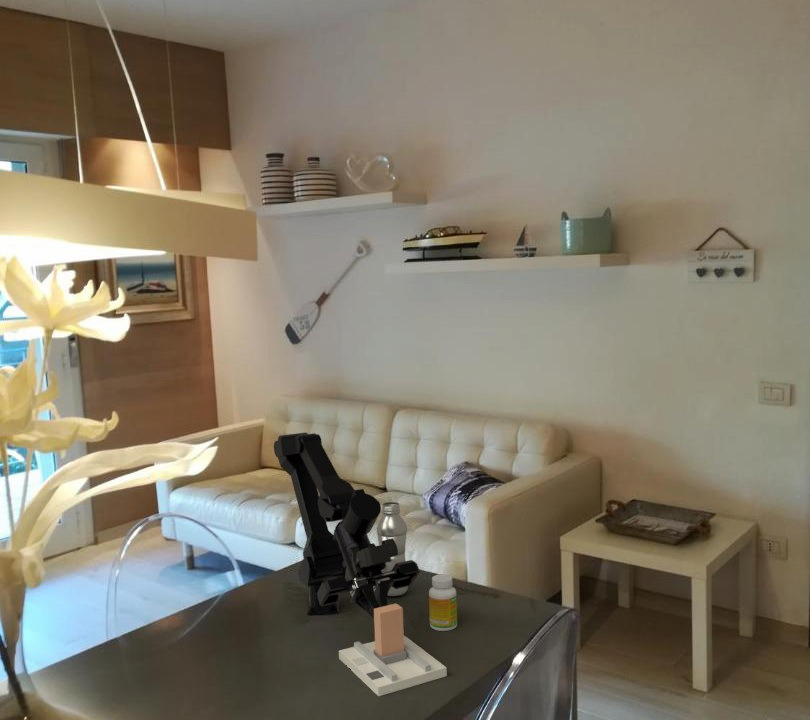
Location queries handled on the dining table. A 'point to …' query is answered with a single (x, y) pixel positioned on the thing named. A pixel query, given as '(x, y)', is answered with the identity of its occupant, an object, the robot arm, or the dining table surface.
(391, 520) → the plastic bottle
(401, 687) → the switch board
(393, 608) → the slide tab
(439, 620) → the supplement bottle
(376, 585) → the robot arm
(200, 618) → the dining table surface
